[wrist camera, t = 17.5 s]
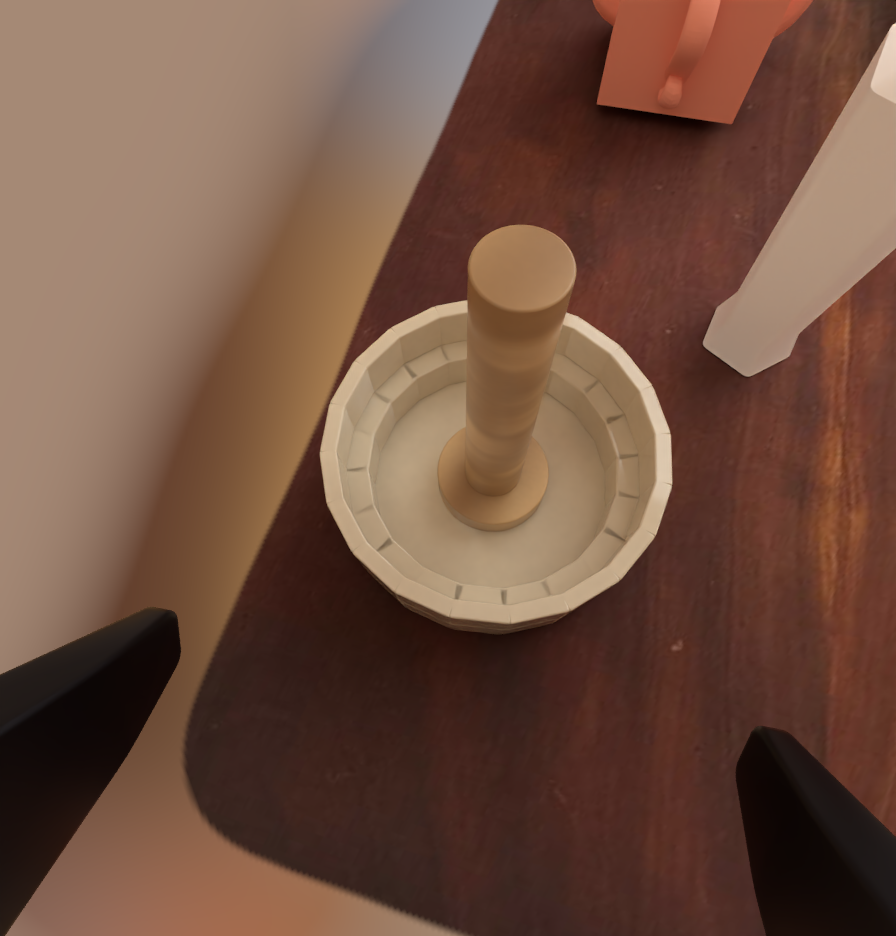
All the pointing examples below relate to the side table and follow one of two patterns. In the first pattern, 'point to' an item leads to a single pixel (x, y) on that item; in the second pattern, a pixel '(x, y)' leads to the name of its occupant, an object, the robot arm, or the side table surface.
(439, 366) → the bowl
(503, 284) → the tan post
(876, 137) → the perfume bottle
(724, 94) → the teapot
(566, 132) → the side table surface
